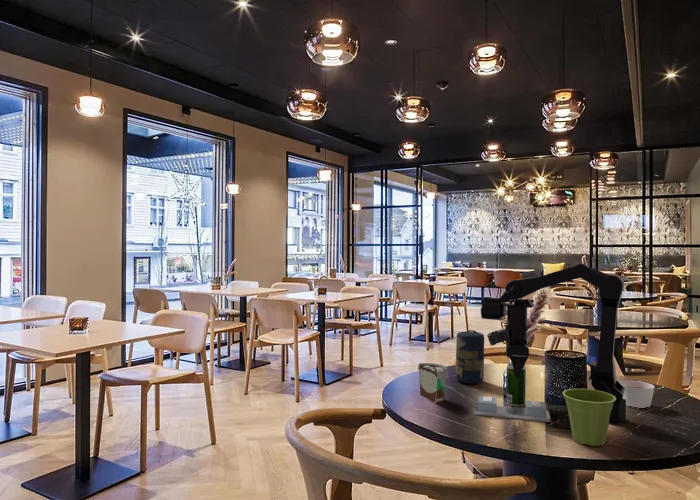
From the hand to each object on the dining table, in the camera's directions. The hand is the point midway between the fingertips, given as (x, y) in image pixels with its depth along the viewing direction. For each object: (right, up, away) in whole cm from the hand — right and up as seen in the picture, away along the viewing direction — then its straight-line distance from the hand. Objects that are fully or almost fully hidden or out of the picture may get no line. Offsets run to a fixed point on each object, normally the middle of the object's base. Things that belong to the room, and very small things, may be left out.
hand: (516, 373), depth 153 cm
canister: (-8, -9, +25) cm, 28 cm away
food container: (-23, -9, +5) cm, 25 cm away
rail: (-4, -9, -9) cm, 14 cm away
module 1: (-11, -8, -7) cm, 15 cm away
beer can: (0, -9, 0) cm, 9 cm away
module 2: (+2, -9, -11) cm, 14 cm away
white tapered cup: (+36, -10, 0) cm, 37 cm away
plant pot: (+8, -10, -28) cm, 31 cm away
